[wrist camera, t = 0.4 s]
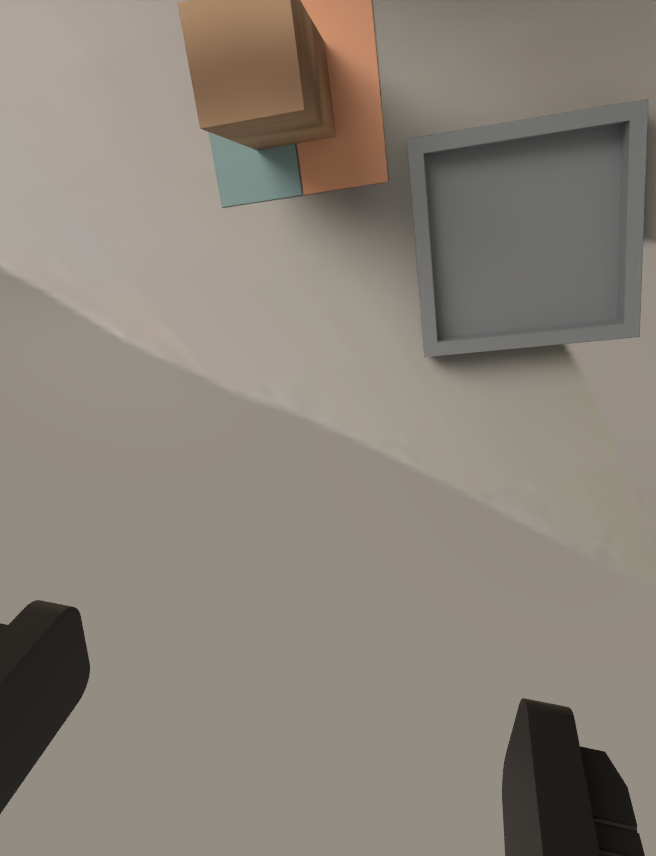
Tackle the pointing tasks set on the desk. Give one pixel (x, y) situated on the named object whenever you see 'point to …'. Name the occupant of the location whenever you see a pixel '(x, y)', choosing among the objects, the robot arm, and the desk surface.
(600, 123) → the tray
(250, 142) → the walnut block
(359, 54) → the tiles
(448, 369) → the desk surface
